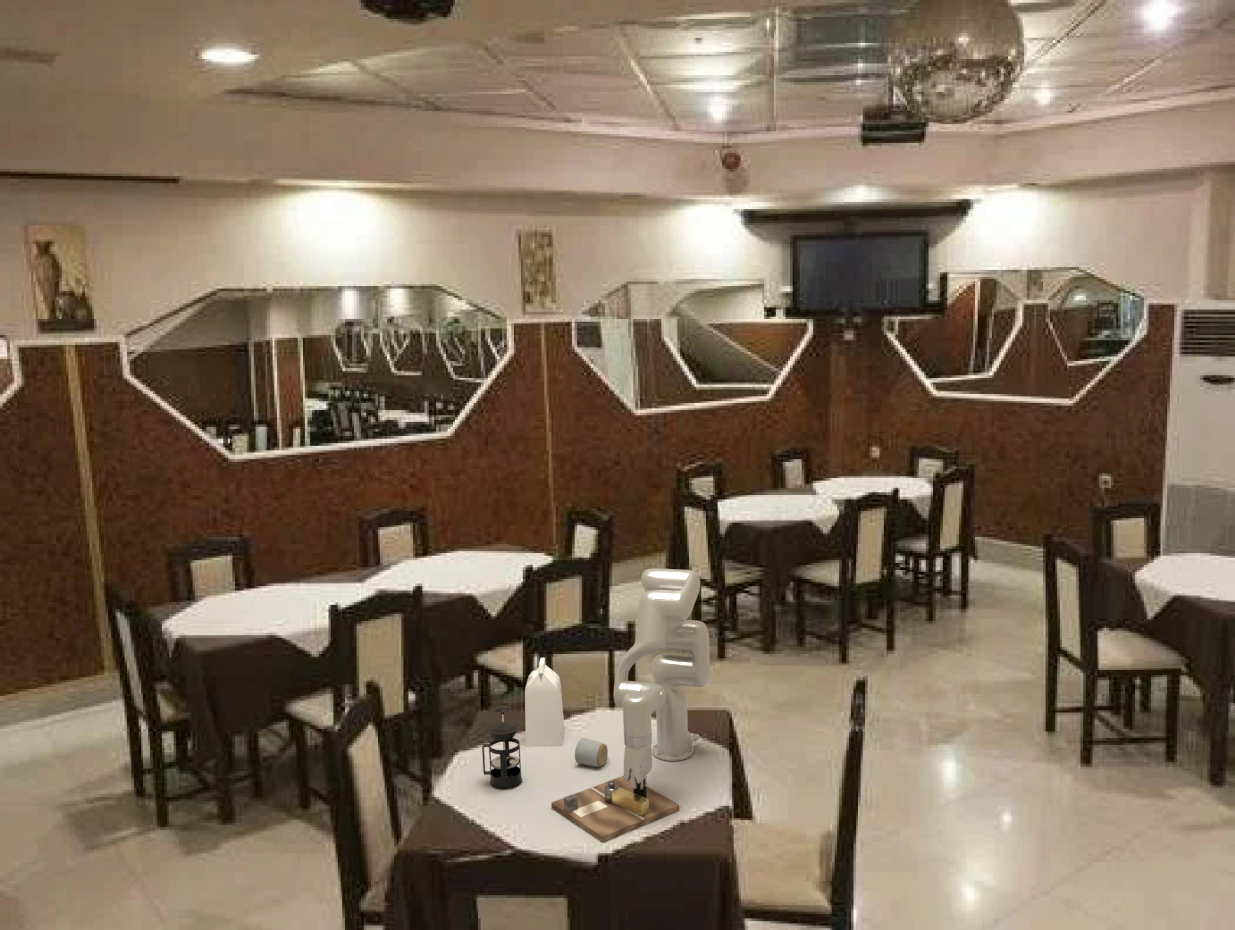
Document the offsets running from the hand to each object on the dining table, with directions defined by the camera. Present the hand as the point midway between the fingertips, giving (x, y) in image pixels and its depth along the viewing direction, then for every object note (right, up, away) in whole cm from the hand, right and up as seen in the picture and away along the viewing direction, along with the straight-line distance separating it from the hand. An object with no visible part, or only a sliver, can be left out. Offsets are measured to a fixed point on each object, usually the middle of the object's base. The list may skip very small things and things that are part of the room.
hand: (640, 800), depth 280 cm
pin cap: (-8, +3, +1) cm, 9 cm away
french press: (-39, -1, +19) cm, 44 cm away
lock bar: (-4, -1, -1) cm, 4 cm away
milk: (-29, +4, +48) cm, 57 cm away
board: (-7, -3, +1) cm, 7 cm away
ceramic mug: (-14, +1, +30) cm, 33 cm away
